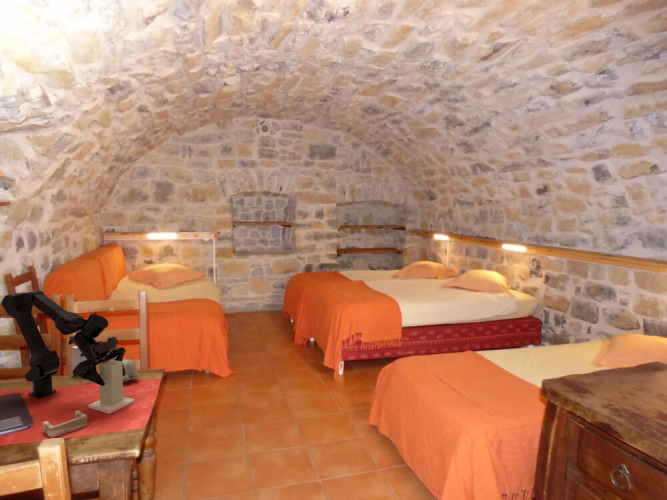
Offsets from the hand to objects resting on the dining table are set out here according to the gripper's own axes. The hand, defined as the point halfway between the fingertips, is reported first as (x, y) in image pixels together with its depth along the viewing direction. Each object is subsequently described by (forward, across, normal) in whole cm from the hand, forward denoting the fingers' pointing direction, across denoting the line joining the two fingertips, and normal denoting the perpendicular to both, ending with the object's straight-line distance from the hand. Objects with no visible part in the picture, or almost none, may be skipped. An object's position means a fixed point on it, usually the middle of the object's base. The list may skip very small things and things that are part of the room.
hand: (114, 380), depth 143 cm
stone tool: (-12, +25, +25) cm, 37 cm away
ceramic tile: (+5, 0, +7) cm, 9 cm away
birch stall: (+5, -17, +8) cm, 20 cm away
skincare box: (-17, +18, +30) cm, 39 cm away
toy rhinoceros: (-3, +19, +16) cm, 25 cm away
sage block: (+5, 0, +7) cm, 8 cm away
